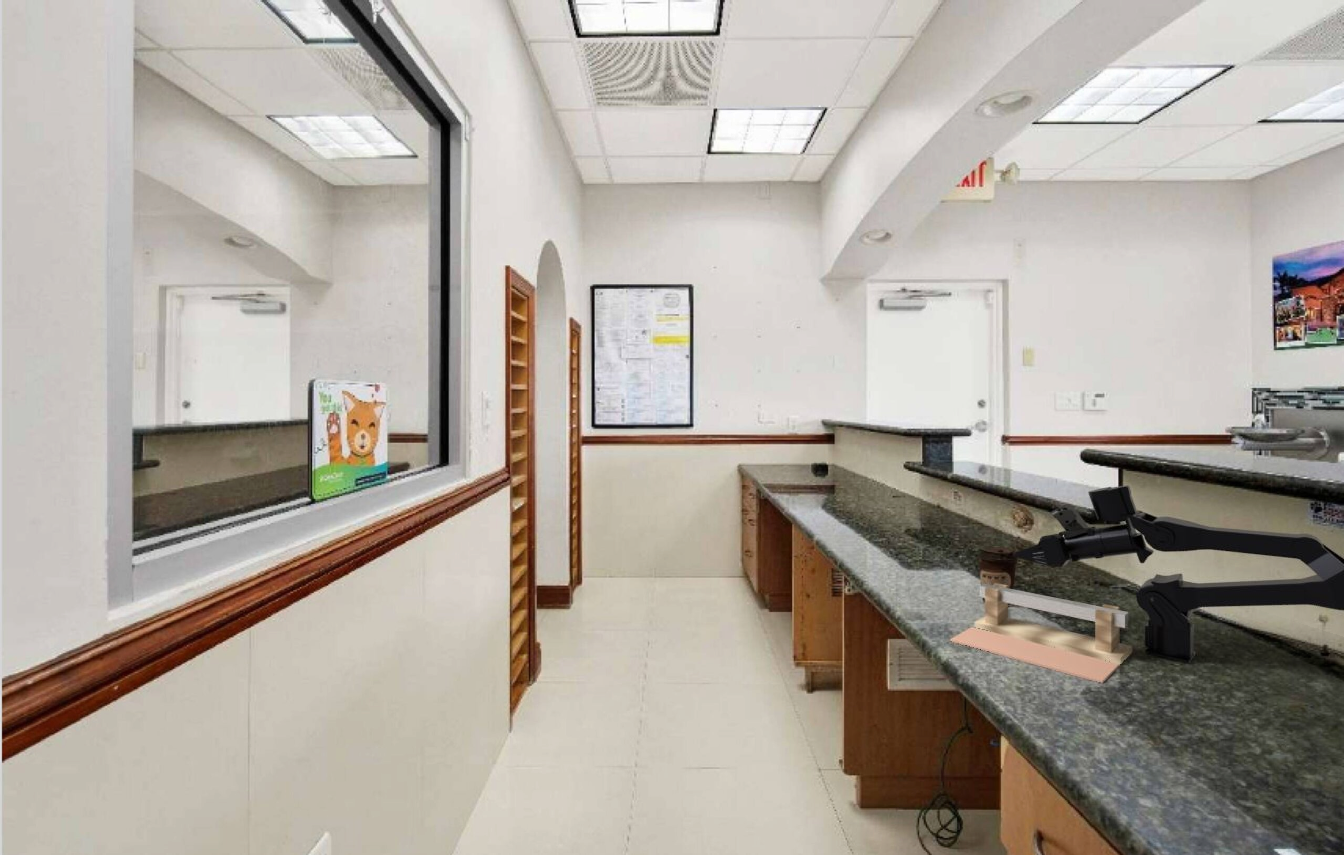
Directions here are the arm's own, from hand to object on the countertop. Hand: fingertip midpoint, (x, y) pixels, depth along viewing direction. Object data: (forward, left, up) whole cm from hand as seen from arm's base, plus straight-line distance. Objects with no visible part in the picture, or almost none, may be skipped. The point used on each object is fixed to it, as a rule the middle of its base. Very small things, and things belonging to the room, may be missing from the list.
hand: (1022, 552), depth 133 cm
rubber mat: (-7, +16, -15) cm, 23 cm away
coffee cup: (+9, -10, -16) cm, 21 cm away
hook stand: (-7, +6, -15) cm, 18 cm away
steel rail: (-7, +6, -9) cm, 13 cm away
